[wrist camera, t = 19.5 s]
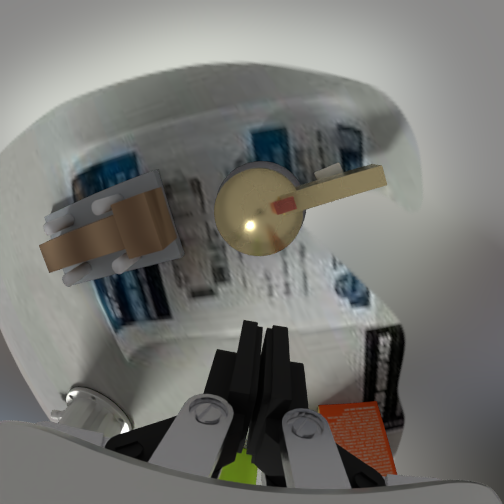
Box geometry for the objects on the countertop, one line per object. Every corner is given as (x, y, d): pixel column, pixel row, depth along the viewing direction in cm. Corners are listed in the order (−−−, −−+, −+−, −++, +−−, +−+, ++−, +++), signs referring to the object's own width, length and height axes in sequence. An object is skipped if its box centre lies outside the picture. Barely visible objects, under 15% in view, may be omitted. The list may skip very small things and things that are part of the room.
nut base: (233, 252, 31) (230, 258, 29) (210, 173, 29) (205, 175, 27) (354, 223, 29) (359, 228, 27) (336, 142, 27) (340, 141, 25)
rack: (74, 282, 34) (50, 299, 29) (50, 214, 31) (22, 225, 27) (184, 254, 31) (167, 272, 26) (158, 169, 29) (135, 173, 24)
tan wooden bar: (72, 268, 32) (52, 281, 28) (57, 227, 31) (36, 236, 27) (177, 237, 30) (162, 250, 26) (161, 186, 28) (143, 192, 24)
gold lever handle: (236, 256, 28) (231, 268, 25) (208, 183, 26) (199, 186, 23) (384, 210, 26) (396, 217, 23) (362, 134, 24) (373, 132, 21)
